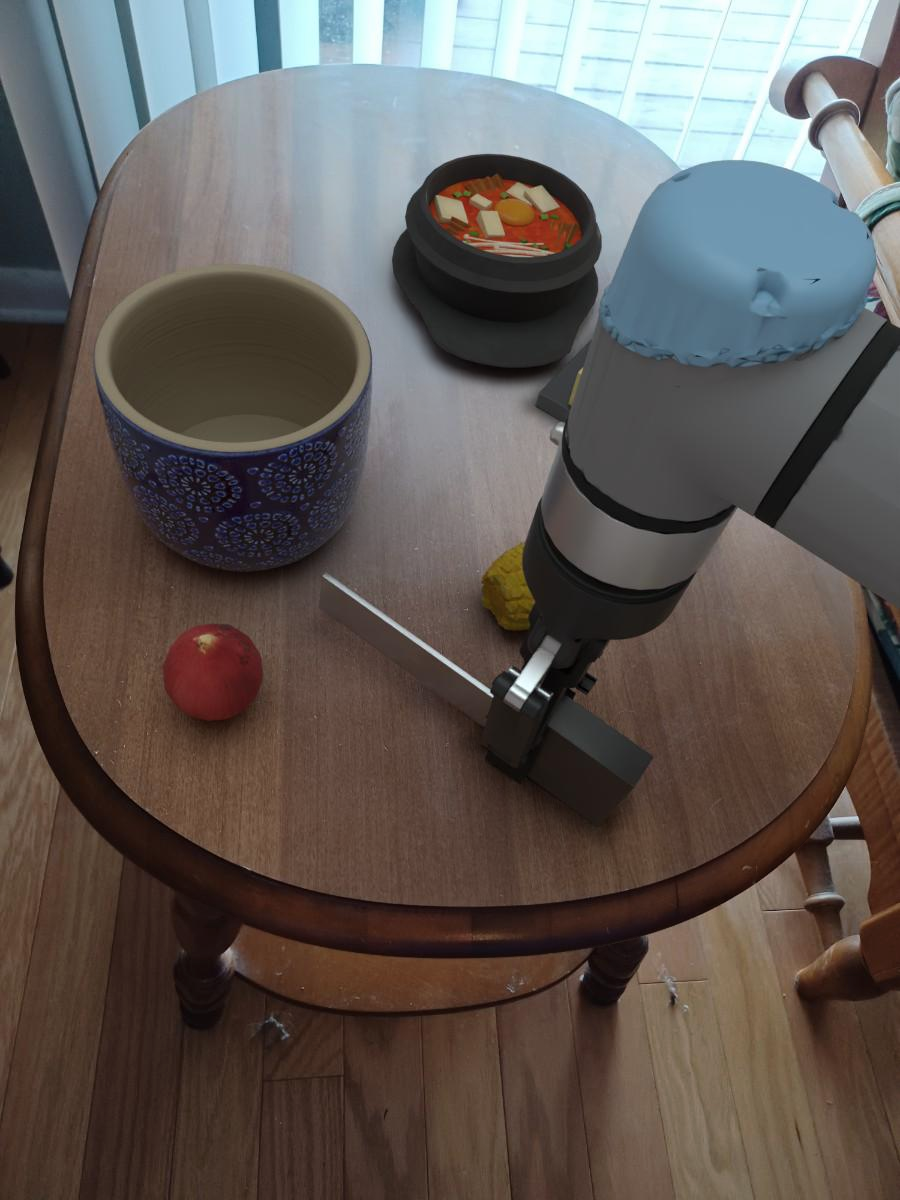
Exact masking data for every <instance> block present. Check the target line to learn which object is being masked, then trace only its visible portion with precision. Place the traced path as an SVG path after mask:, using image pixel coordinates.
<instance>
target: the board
mask: <svg viewBox="0 0 900 1200" xmlns="http://www.w3.org/2000/svg"><path fill="white" fill-rule="evenodd" d="M591 340H592V338H591V339H590V340H589V341H588V342H587V344H585V346H584V347H582V348H581V349H580V351H578V353H576V355H575V356H574V357H573V358H571V360H569V362H568V363H567V364H565V366H564V367H563V368H562V369H561V370H560V371H559V372H558V373H556V375H555V376H554V377H553V378H552V379H551V380H550V381H549V382H548V383H547V384H546V385H545V386H544V387H543V388H542V389H541V390H540V391H539V393H538V395H537V400H536V402H535V407H536V408H538V409H540V410H542V411H543V412H545V413H547V414H549V415H550V416H552V417H554V418H555V419H557V420H558V421H560V422H564V423H565V422H566V420H567V418H568V416H569V413H570V409H571V406H570V405H569V404H568V403H569V400H570V397H571V394H572V390H573V387H574V384H575V381H576V378H577V374H578V372H579V371H580V370H581V369H582V368H583V367H584V363H585V360H586V357H587V354H588V350H589V347H590V344H591Z"/></svg>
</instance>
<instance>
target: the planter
mask: <svg viewBox="0 0 900 1200" xmlns="http://www.w3.org/2000/svg"><path fill="white" fill-rule="evenodd" d="M92 362H93V363H92V365H93V372H94V379H95V384H96V391H97V394H98V398H99V403H100V407H101V411H102V415H103V419H104V423H105V427H106V431H107V435H108V439H109V442H110V445H111V448H112V452H113V455H114V459H115V462H116V466H117V469H118V471H119V474H120V476H121V479H122V483H123V485H124V488H125V490H126V492H127V495H128V498H129V499H130V501H131V503H132V505H133V506H132V507H133V508H134V510H135V511H136V513H137V515H138V516H139V517H140V519H141V520H142V522H143V523H144V524H145V526H146V528H147V529H148V530H149V531H150V532H151V533H152V534H153V536H154V537H156V539H157V540H159V542H161V543H162V544H163V545H164V546H166V547H167V548H169V549H170V550H171V551H174V552H175V553H176V554H178V555H181V556H182V557H184V558H186V559H187V560H189V561H192V562H194V563H197V564H199V565H202V566H205V567H209V568H213V569H218V570H221V571H222V570H223V571H230V572H244V573H245V572H259V571H260V572H261V571H267V570H272V569H277V568H280V567H284V566H286V565H287V566H288V565H290V564H292V563H294V562H297V561H300V560H301V559H303V558H306V557H307V556H309V555H311V554H313V553H314V552H315V551H317V550H318V549H319V548H321V547H322V546H323V545H325V544H326V543H327V542H328V541H329V540H330V539H332V538H333V537H334V535H336V533H338V531H339V530H340V529H341V528H342V526H343V525H344V524H345V522H346V521H347V519H348V518H349V515H350V513H351V512H352V510H353V508H354V505H355V503H356V501H357V498H358V495H359V492H360V489H361V484H362V479H363V474H364V470H365V462H366V459H367V452H368V443H369V442H368V441H369V434H370V433H369V432H370V424H371V412H372V411H371V410H372V395H373V354H372V347H371V343H370V340H369V337H368V335H367V332H366V330H365V328H364V325H363V324H362V323H361V321H360V320H359V318H358V317H357V316H356V314H355V313H354V311H353V310H351V308H349V306H348V305H347V304H346V303H344V301H343V300H341V298H339V297H338V296H336V295H335V294H334V293H332V292H331V291H329V290H328V289H327V288H325V287H323V286H321V285H320V284H317V283H316V282H314V281H312V280H309V279H307V278H304V277H302V276H301V275H297V274H295V273H292V272H289V271H285V270H282V269H277V268H273V267H268V266H262V265H256V264H243V263H220V264H217V263H216V264H210V265H209V264H208V265H207V264H206V265H201V266H194V267H189V268H186V269H182V270H181V269H180V270H178V271H174V272H171V273H168V274H166V275H163V276H161V277H158V278H156V279H153V280H151V281H150V282H148V283H146V284H144V285H142V286H141V287H139V288H137V289H136V290H134V291H132V292H131V293H130V294H129V295H127V296H126V297H125V298H123V300H121V301H120V302H119V303H118V304H117V305H116V306H115V307H114V308H113V309H112V311H111V312H110V313H109V314H108V316H107V317H106V318H105V320H104V321H103V323H102V324H101V327H100V329H99V330H98V333H97V336H96V339H95V343H94V348H93V355H92Z"/></svg>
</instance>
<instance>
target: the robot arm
mask: <svg viewBox="0 0 900 1200" xmlns="http://www.w3.org/2000/svg"><path fill="white" fill-rule="evenodd" d="M876 271H877V254H876V248H875V240H874V239H873V236H872V233H871V231H870V229H869V227H868V225H867V224H866V223H865V222H864V220H863V219H862V218H861V216H860V215H859V214H858V213H857V212H855V211H851V210H849V209H846V208H844V207H840V206H839V197H838V195H836V192H835V191H833V190H832V189H831V188H829V187H828V186H826V185H824V184H822V183H821V182H819V181H818V180H815V179H813V178H812V177H809V176H807V175H805V174H802V173H800V172H798V171H795V170H793V169H789V168H787V167H783V166H779V165H776V164H771V163H768V162H763V161H758V160H757V161H756V160H746V159H723V160H713V161H712V160H711V161H707V162H702V163H699V164H698V163H697V164H696V165H694V166H690V167H688V168H685V169H683V170H681V171H679V172H677V173H675V174H674V175H672V176H670V177H669V178H667V179H666V180H665V181H663V182H660V183H659V184H658V185H657V186H656V187H655V188H654V190H653V191H652V192H651V194H650V195H649V196H648V198H647V199H646V200H645V202H644V204H643V205H642V207H641V209H640V211H639V213H638V216H637V217H636V220H635V223H634V225H633V228H632V230H631V233H630V235H629V238H628V241H627V242H626V245H625V248H624V250H623V253H622V255H621V257H620V260H619V262H618V265H617V268H616V270H615V272H614V275H613V277H612V280H611V282H610V284H608V285H607V286H606V287H605V288H604V290H603V294H602V296H601V299H600V301H599V305H598V311H597V312H598V318H597V321H596V324H595V328H594V331H593V334H592V338H591V339H592V340H591V339H590V340H591V344H590V347H589V350H588V354H587V357H586V360H585V363H584V367H583V370H582V373H581V377H580V380H579V383H578V386H577V390H576V393H575V396H574V400H573V403H572V406H571V409H570V413H569V416H568V418H567V420H566V422H565V423H564V422H562V421H559V422H557V423H556V424H555V425H554V426H553V427H552V429H551V430H550V431H549V441H550V442H551V443H553V444H554V445H556V446H557V449H556V453H555V457H554V459H553V462H552V464H551V467H550V470H549V473H548V475H547V479H546V482H545V485H544V488H543V492H542V495H541V496H540V499H539V501H538V503H537V506H536V508H535V512H534V515H533V517H532V520H531V524H530V527H529V530H528V533H527V535H526V539H525V541H524V542H525V544H524V548H523V554H522V568H523V573H524V577H525V581H526V583H527V586H528V588H529V590H530V592H531V594H532V596H533V598H534V600H535V603H534V605H533V607H532V610H531V612H530V614H529V618H528V620H529V623H530V627H529V629H527V632H526V633H525V636H524V638H523V640H522V643H521V645H520V647H519V654H520V656H521V658H522V659H523V664H522V667H521V669H519V668H517V667H515V666H514V665H510V666H509V667H508V669H507V671H505V670H503V671H502V672H501V673H499V674H498V675H496V676H495V677H494V679H493V680H492V681H491V688H490V693H491V694H492V695H493V699H492V703H491V707H490V710H489V712H488V714H487V715H486V718H487V721H486V725H485V728H484V729H483V732H482V735H481V739H482V740H481V739H480V741H481V742H480V744H481V745H482V746H484V747H485V748H487V749H488V750H487V753H486V755H485V758H484V759H485V760H486V761H487V762H489V763H490V764H492V765H493V766H495V767H496V768H497V769H498V770H500V771H502V772H503V773H504V774H505V775H507V776H508V777H510V778H511V779H513V780H515V781H516V782H517V783H518V784H520V785H521V783H522V782H524V780H525V778H526V777H527V776H526V775H527V773H528V771H529V769H530V767H531V765H532V763H533V761H534V759H535V757H536V755H537V753H538V751H539V749H540V747H541V745H542V744H543V742H544V740H545V738H546V736H547V734H548V732H549V731H548V730H547V729H545V728H546V727H547V725H548V723H549V721H550V719H551V717H552V715H553V713H554V712H555V710H556V708H557V706H558V704H559V702H560V700H561V698H562V697H563V695H564V694H565V695H567V696H568V697H570V698H571V699H573V700H574V698H575V696H576V695H577V692H575V691H574V690H573V689H576V690H577V691H579V692H580V693H582V694H584V695H585V696H588V695H589V694H590V693H591V691H592V689H593V688H594V686H595V684H596V683H597V681H598V678H597V677H595V676H593V675H592V674H591V673H589V672H588V671H589V669H590V667H591V665H592V663H595V662H596V661H597V660H598V659H600V658H601V657H602V655H603V654H604V651H605V649H606V648H607V646H608V645H609V643H610V642H611V641H620V640H628V639H629V640H630V639H634V638H637V637H640V636H643V635H646V634H648V633H650V632H653V630H655V629H657V628H658V627H659V626H661V625H663V623H664V622H665V621H667V619H669V617H670V616H671V615H672V614H673V612H674V610H675V609H676V607H677V605H678V604H679V602H680V601H681V599H682V597H683V596H684V594H685V593H686V590H687V589H688V587H689V586H690V584H691V582H692V581H693V579H694V578H695V575H696V574H697V572H698V570H699V569H700V568H702V566H703V565H704V563H705V561H706V560H707V558H708V557H709V555H710V553H711V552H712V550H713V549H714V547H715V545H716V544H717V542H718V541H719V539H720V538H721V536H722V534H723V532H724V531H725V529H726V528H727V526H728V525H729V523H730V521H731V520H732V518H733V516H734V515H735V513H736V511H737V510H738V509H740V510H741V511H743V512H744V513H746V514H748V515H749V516H751V517H752V518H755V519H757V520H758V521H760V522H761V523H763V524H765V525H766V526H768V527H769V528H771V529H774V530H775V531H776V532H778V533H779V534H781V535H783V536H784V537H786V538H787V539H789V540H791V541H792V542H794V543H795V544H797V545H798V546H800V547H801V548H803V549H805V550H806V551H807V552H809V553H811V554H813V555H814V556H816V557H817V558H819V559H820V560H822V561H824V562H825V563H827V564H828V565H830V566H831V567H832V568H834V569H836V570H837V571H839V572H841V573H842V574H844V575H845V576H847V577H848V578H850V579H852V580H853V581H855V582H856V583H858V584H860V585H861V586H863V587H864V588H866V589H867V590H869V591H870V592H872V593H874V594H875V595H877V596H878V597H880V598H881V599H883V600H885V601H886V602H888V603H889V604H891V605H893V606H894V607H896V608H897V609H899V610H900V327H899V326H897V325H895V324H893V323H891V322H889V320H888V319H887V318H885V317H883V316H881V315H880V314H877V313H876V312H875V311H872V310H870V309H869V308H867V307H866V306H867V304H868V302H869V301H868V291H869V289H870V287H871V284H872V282H873V281H874V277H875V274H876Z"/></svg>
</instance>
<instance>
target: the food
mask: <svg viewBox="0 0 900 1200" xmlns="http://www.w3.org/2000/svg"><path fill="white" fill-rule="evenodd" d="M524 544H525V541H520V542H519V543H518V544H517V545H514V546H513V547H511V548H510V549H507V550H505V551H504V552H503V553H502V554H500V556H499V557H498V558H496V559H494V561H492V562H491V565H490V566H489V567H488V568H486V570H485V572H484V574H482V576H481V581H480V582H481V584H483V585H482V586H481V594H482V595H483V596H482V598H481V602H482V605H483V608H486V609H487V610H490V611H491V614H492V615H493V616H495V619H496V621H497V625H499V626H500V627H501V628H504V629H505V630H508V631H525V630H527V631H528V629H529V627H530V623H529V620H528V618H529V614H530V612H531V610H532V607H533V605H534V603H535V600H534V598H533V596H532V594H531V592H530V590H529V588H528V586H527V583H526V581H525V577H524V573H523V568H522V554H523V548H524Z"/></svg>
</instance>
